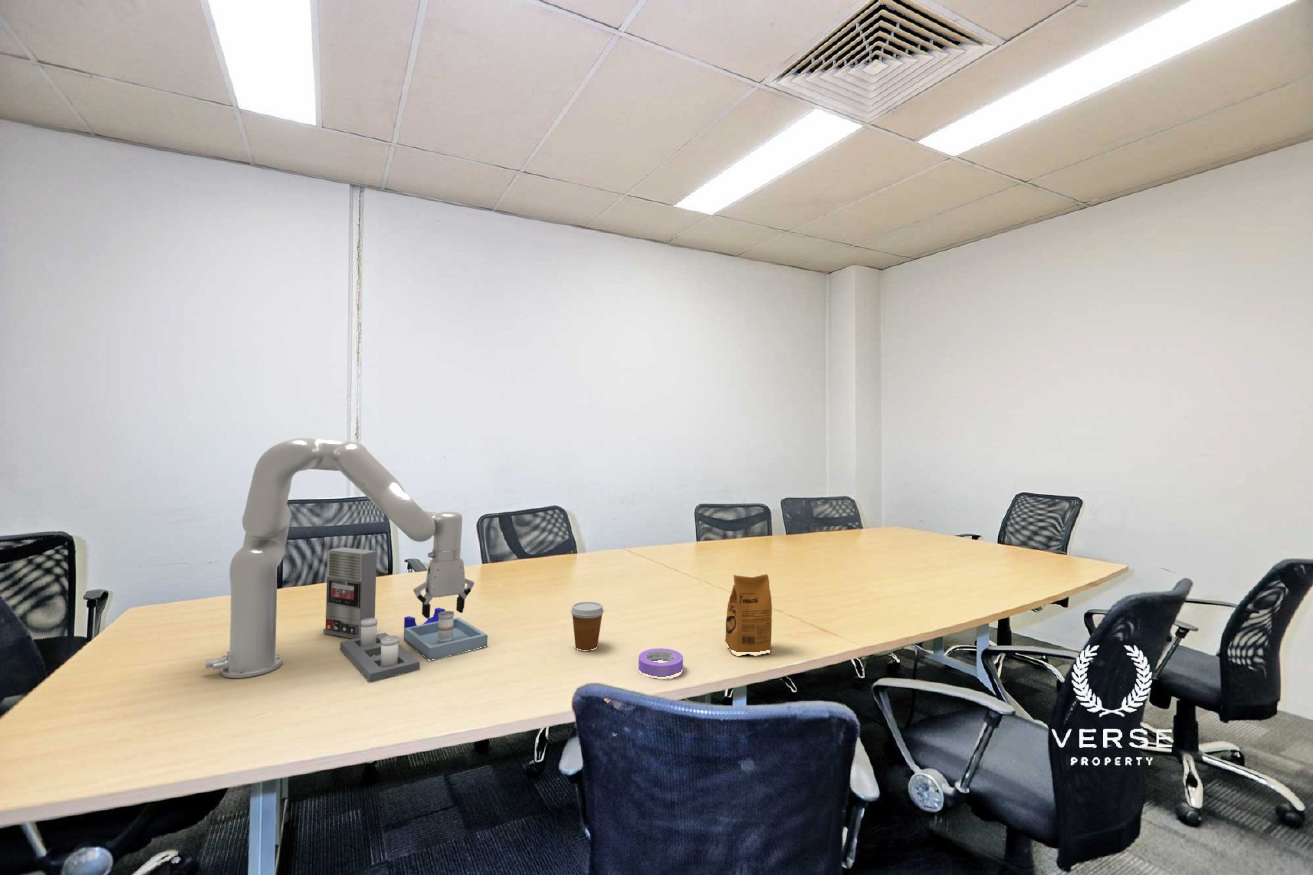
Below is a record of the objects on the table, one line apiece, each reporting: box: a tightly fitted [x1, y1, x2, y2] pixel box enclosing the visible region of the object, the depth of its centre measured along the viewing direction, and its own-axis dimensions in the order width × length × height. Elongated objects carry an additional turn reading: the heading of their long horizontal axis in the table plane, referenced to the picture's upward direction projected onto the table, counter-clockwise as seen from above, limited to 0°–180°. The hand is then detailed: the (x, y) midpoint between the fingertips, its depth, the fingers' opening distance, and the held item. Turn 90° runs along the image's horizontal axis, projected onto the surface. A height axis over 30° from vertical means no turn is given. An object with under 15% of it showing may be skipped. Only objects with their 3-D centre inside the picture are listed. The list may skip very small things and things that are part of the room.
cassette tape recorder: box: [322, 546, 378, 639], centre depth 168 cm, size 14×6×25 cm, turn 71°
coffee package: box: [724, 573, 773, 652], centre depth 163 cm, size 10×12×22 cm
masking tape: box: [638, 647, 684, 677], centre depth 147 cm, size 12×12×4 cm
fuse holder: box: [339, 632, 421, 683], centre depth 150 cm, size 12×28×2 cm, turn 43°
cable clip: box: [403, 607, 446, 629], centre depth 171 cm, size 12×4×6 cm, turn 148°
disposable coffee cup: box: [570, 601, 605, 650], centre depth 162 cm, size 10×10×12 cm
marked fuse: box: [438, 610, 455, 643], centre depth 162 cm, size 4×4×8 cm
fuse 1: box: [360, 617, 378, 647], centre depth 157 cm, size 4×4×8 cm
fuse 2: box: [380, 635, 400, 668], centre depth 143 cm, size 4×4×8 cm
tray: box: [403, 616, 489, 661], centre depth 162 cm, size 16×20×4 cm
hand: (443, 614), depth 162 cm, fingers open, 9 cm apart
